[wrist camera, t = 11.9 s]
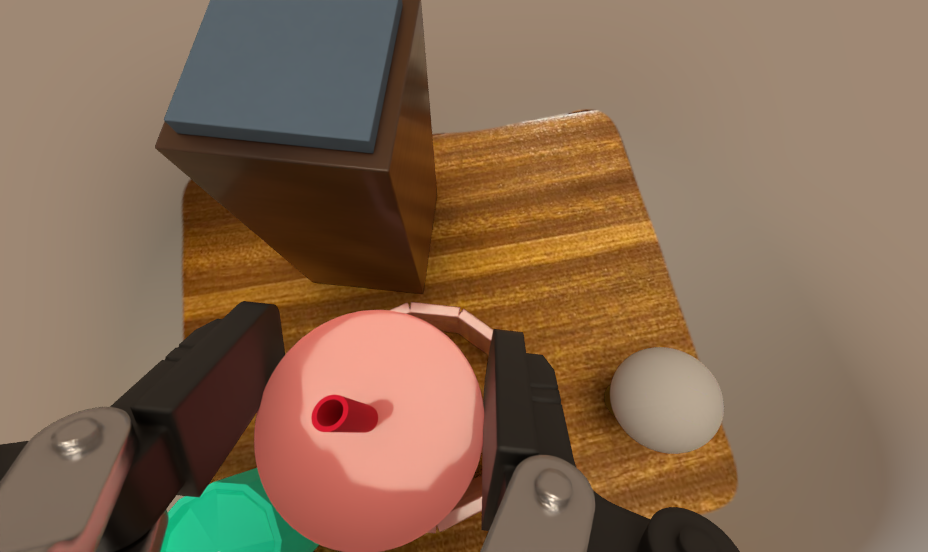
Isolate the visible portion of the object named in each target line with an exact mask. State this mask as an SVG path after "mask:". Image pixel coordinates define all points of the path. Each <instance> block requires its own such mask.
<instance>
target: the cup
mask: <svg viewBox="0 0 928 552" xmlns="http://www.w3.org/2000/svg"><path fill="white" fill-rule="evenodd" d="M483 425H484V406H483V400H482V395H481V391H480V387H479V384H478V381H477V379H476V376H475V374H474V372H473V370H472V368H471V366H470V364H469V362H468V360H467V359H466V357H465V356H464V354H463V353H462V352H461V350H460V349H459V348H458V347H457V346H456V344H455V343H454V342H453V341H452V340H451V339H450V338H449V337H448V336H446V335H445V334H444V333H443V332H442V331H440V330H439V329H437V328H436V327H434V326H433V325H431V324H429V323H428V322H426V321H424V320H422V319H419V318H417V317H414V316H412V315H409V314H405V313H401V312H396V311H389V310H367V311H359V312H354V313H350V314H346V315H343V316H340V317H337V318H335V319H332V320H330V321H328V322H326V323H324V324H322V325H320V326H319V327H317V328H315V329H314V330H312V331H311V332H309V333H308V334H307V335H305V336H304V337H303V338H302V339H301V340H299V341H298V342H297V343H296V344H295V345H294V346H293V347H292V348H291V349H290V350H289V351H288V352H287V354H286V355H285V356H284V357H283V358H282V360H281V361H280V363H279V364H278V365H277V367H276V368H275V370H274V372H273V373H272V375H271V377H270V379H269V381H268V383H267V385H266V387H265V389H264V392H263V396H262V400H261V404H260V408H259V410H258V411H257V416H256V422H255V432H254V448H255V458H256V464H257V469H258V473H259V476H260V479H261V482H262V485H263V487H264V490H265V492H266V494H267V496H268V498H269V499H270V501H271V503H272V504H273V506H274V507H275V509H276V510H277V512H278V513H279V514H280V515H281V517H282V518H283V519H284V520H285V521H286V522H287V523H288V524H289V525H290V526H291V527H292V528H293V529H295V530H296V531H297V532H299V533H300V534H301V535H303V536H304V537H306V538H307V539H309V540H311V541H313V542H315V543H317V544H319V545H321V546H324V547H327V548H330V549H333V550H337V551H342V552H381V551H386V550H390V549H393V548H397V547H399V546H402V545H405V544H407V543H409V542H411V541H413V540H415V539H417V538H419V537H421V536H422V535H424V534H425V533H427V532H428V531H430V530H431V529H432V528H434V527H435V526H436V525H437V524H439V523H440V522H441V521H442V520H443V519H444V518H445V517H446V516H447V515H448V514H449V513H450V512H451V511H452V509H453V508H454V507H455V506H456V505H457V503H458V502H459V501H460V499H461V498H462V496H463V495H464V493H465V491H466V490H467V488H468V486H469V484H470V482H471V480H472V478H473V476H474V474H475V471H476V469H477V466H478V463H479V459H480V456H481V452H482V447H483Z"/></svg>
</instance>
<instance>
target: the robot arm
mask: <svg viewBox="0 0 928 552" xmlns="http://www.w3.org/2000/svg"><path fill="white" fill-rule="evenodd" d="M284 356H285V350H284V343H283V335H282V328H281V321H280V314H279V310H278V307H277V306H276V305H274V304H265V303H256V302H246V301H243V302H241V303H239V304H238V305H237V306H236V307H235V308H234V309H233V310H232V311H231V312H230V313H229V314H227V315H226V316H225V317H224V318H223V319H216V320H214V321H212V322H210V323H208V324H206V325H204V326H202V327H200V328H198V329H196V330H195V331H194V332H193V333H191V334H190V335H189V336H188V337H187V338H186V339H185V340H184V341H183V342H181V343H180V344H179V347H178V348H175V349H174V350H173V351H171V352H170V353H169V354H168V355H167V356H166V359H165V360H162V361H160V362H159V363H158V364H157V365H156V366H155V367H154V368H153V369H152V370H150V371H149V372H148V373H147V374H146V375H145V376H144V377H143V378H141V379H140V380H139V381H138V382H137V383H136V384H135V385H134V386H133V387H131V388H130V389H129V390H128V391H127V392H126V393H125V394H124V395H123V396H121V397H120V398H119V399H118V400H117V401H116V402H115V403H114V404H113V405H111V406H110V407H99V408H92V409H87V410H83V411H79V412H76V413H74V414H71V415H68V416H66V417H64V418H61V419H60V420H58V421H56V422H54V423H52V424H50V425H49V426H47V427H46V428H44V429H43V430H41V431H40V432H39V433H38V434H36V435H35V436H34V437H33V438H32V439H31V440H30V441H24V442H17V443H10V444H2V445H0V552H160V551H161V547H162V544H163V540H164V536H165V533H166V529H167V526H168V513H167V511H166V509H167V507H168V506H169V504H170V503H171V502H172V500H173V499H174V498H175V496H176V495H182V496H190V497H199V498H200V496H201V495H202V493H203V492H204V490H205V489H206V487H207V486H208V484H209V483H210V481H211V480H212V478H213V477H214V475H215V474H216V472H217V471H218V469H219V468H220V466H221V465H222V463H223V462H224V460H225V459H226V457H227V456H228V454H229V453H230V451H231V450H232V448H233V447H234V446H235V444H236V443H237V441H238V440H239V438H240V437H241V435H242V434H243V432H244V431H245V429H246V428H247V426H248V425H249V423H250V422H251V420H252V419H253V417H254V416H255V414H256V413H257V411H258V410H259V408H260V404H261V400H262V396H263V392H264V389H265V387H266V385H267V383H268V381H269V379H270V377H271V375H272V373H273V372H274V370H275V368H276V367H277V365H278V364H279V363H280V361H281V360H282V358H283V357H284ZM483 406H484V425H483V462H482V530H486V531H489V532H488V534H487V537H486V539H485V542H484V544H483V546H482V549H481V551H480V552H740V551H739V550H738V548H737V547H736V546H735V545H734V543H733V542H732V540H731V539H730V538H729V537H728V536H727V535H726V534H725V533H724V532H723V531H722V530H721V529H720V528H718V526H716V525H715V524H714V523H712V522H711V521H710V520H708V519H707V518H705V517H703V516H701V515H700V514H697V513H695V512H693V511H690V510H687V509H683V508H678V507H669V508H664V509H661V510H659V511H658V512H656V513H655V514H654V515H653V517H652V518H651V520H650V519H648V518H646V517H643V516H641V515H638V514H636V513H634V512H631V511H629V510H626V509H624V508H622V507H619V506H617V505H615V504H613V503H611V502H609V501H607V500H605V499H604V498H602V497H601V496H600V495H598V494H597V493H596V492H594V491H593V490H592V488H591V485H590V483H589V482H588V480H587V479H586V477H585V476H584V475H583V474H582V473H581V472H580V471H579V470H578V469H577V468H576V465H575V462H574V458H573V454H572V449H571V445H570V440H569V435H568V431H567V426H566V422H565V417H564V412H563V408H562V405H561V399H560V394H559V390H558V385H557V380H556V376H555V371H554V369H553V368H552V367H551V365H550V364H549V363H548V361H547V360H546V359H545V357H544V356H543V355H538V354H529V353H526V349H525V342H524V335H523V332H516V331H507V330H497V329H493V333H492V338H491V345H490V351H489V358H488V364H487V371H486V377H485V386H484V399H483Z"/></svg>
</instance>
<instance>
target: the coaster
mask: <svg viewBox="0 0 928 552" xmlns="http://www.w3.org/2000/svg"><path fill="white" fill-rule="evenodd" d="M402 6H403V4H402V0H210V3H209V5H208V8H207V10H206V13H205V15H204V18H203V21H202V23H201V25H200V28H199V31H198V33H197V36H196V38H195V41H194V43H193V46H192V49H191V51H190V54H189V56H188V59H187V61H186V64H185V66H184V69H183V72H182V74H181V77H180V79H179V82H178V84H177V87H176V90H175V92H174V95H173V97H172V100H171V102H170V105H169V107H168V110H167V112H166V115H165V118H164V121H165V122H166V123H167V124H168V125H169V126H170V127H171V128H172V129H173V130H174V131H175V132H176V133H179V134H188V135H198V136H208V137H217V138H227V139H237V140H246V141H256V142H266V143H275V144H285V145H295V146H304V147H314V148H324V149H334V150H343V151H353V152H363V153H373V152H374V147H375V142H376V137H377V132H378V127H379V122H380V117H381V112H382V107H383V102H384V97H385V92H386V87H387V82H388V77H389V72H390V67H391V62H392V56H393V51H394V46H395V41H396V36H397V31H398V26H399V21H400V16H401V11H402Z"/></svg>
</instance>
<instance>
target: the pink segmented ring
mask: <svg viewBox="0 0 928 552" xmlns="http://www.w3.org/2000/svg"><path fill="white" fill-rule="evenodd" d="M389 311H396V312H401V313H405V314H409V315H412V316H414V317H417V318H419V319H422V320H424V321H426V322H428V323H429V324H431V325H433V326H434V327H436V328H437V329H439V330H440V331H445V332H454V333H458V334H460V335H461V336H462V337H464V338H465V339H466V340H468V341H469V342H471V343H472V344H473V345H475V346H476V347H477V348H479V349H480V350H482V351H483V352H484V353H486V354H487V355H488V356H489V351H490V345H491V338H492V333H493V329H491V328H490V327H489V326H487V325H486V324H484V323H483V322H482V321H480V320H479V319H477V318H476V317H475V316H473V315H472V314H470V313H469V312H468V311H466V310H465V309H463V310H462V311H461V312H460V307H453V306H444V305H435V304H425V303H416V302H411V305H410V307H409V305H408V303H405V304H403V305H400V306H398V307H396V308H393V309H391V310H389ZM481 511H482V473H481V474H480V476H478V477H476V478H474V479H472V480H471V482H470V484H469V486H468V488H467V490H466V491H465V493H464V495H463V496H462V498H461V499H460V501H459V502H458V503H457V505H456V506H455V507H454V508H453V509H452V511H451V512H450V513H449V514H448V515H447V516H446V517H445V518H444V519H443V520H442V521H441V522H440V523H439V524H437V525H436V526H435V527H434V528H432V529H431V530H430V531H428V533H436V527H438V530H439V532H442V531H444V530H445V529H447V528H449V527H451V526H453V525H455V524H457V523H459V522H461V521H463V520H465V519H467V518H469V517H471V516H473V515H475V514H477V513H479V512H481Z"/></svg>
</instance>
